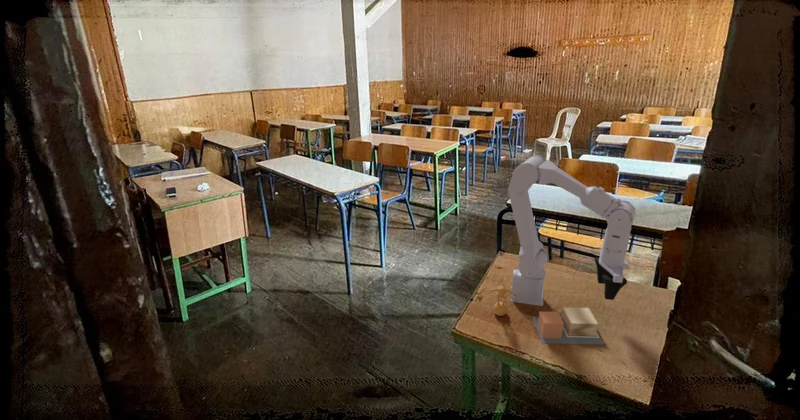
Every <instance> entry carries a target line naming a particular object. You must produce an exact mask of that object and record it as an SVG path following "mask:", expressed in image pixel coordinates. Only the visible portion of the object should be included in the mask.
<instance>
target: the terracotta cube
mask: <svg viewBox="0 0 800 420" xmlns="http://www.w3.org/2000/svg"><path fill="white" fill-rule="evenodd" d="M538 313H539V314H538V317H539V319H538V329H539V331H540V334H541V337H542V338H550V339H561V337H562V331H563V325H564V323H563V321H562V319H561V317H562V316H561V315H560V313H559V311H541V310H540V311H539V312H538Z"/></svg>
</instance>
